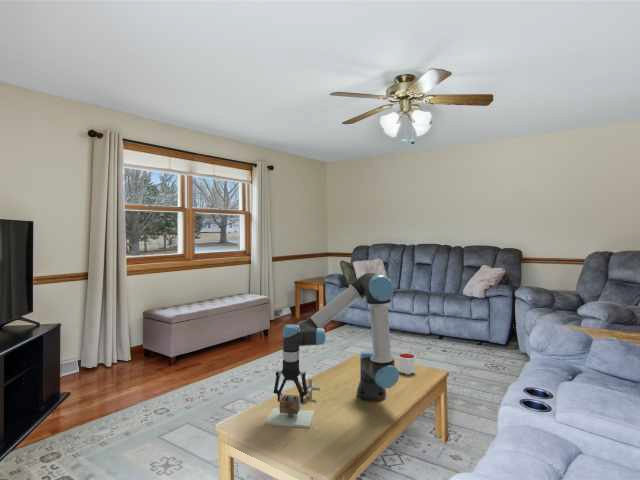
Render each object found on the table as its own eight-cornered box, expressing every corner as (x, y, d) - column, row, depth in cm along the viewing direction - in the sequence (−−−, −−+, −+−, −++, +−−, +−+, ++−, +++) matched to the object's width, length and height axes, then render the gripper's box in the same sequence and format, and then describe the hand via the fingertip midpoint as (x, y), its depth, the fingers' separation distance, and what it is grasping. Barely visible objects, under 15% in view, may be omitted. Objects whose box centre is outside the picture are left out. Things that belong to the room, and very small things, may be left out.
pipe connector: (317, 403, 189) (317, 383, 189) (298, 401, 191) (298, 381, 191) (321, 394, 199) (321, 375, 199) (303, 393, 201) (303, 374, 201)
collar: (300, 406, 176) (300, 395, 176) (297, 414, 168) (297, 403, 168) (283, 405, 177) (284, 394, 177) (279, 413, 169) (279, 401, 169)
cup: (405, 368, 239) (405, 352, 239) (418, 372, 232) (418, 356, 231) (394, 371, 233) (394, 355, 233) (408, 376, 225) (408, 359, 225)
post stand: (314, 413, 178) (315, 391, 178) (309, 428, 165) (309, 405, 164) (273, 409, 181) (273, 389, 181) (265, 424, 167) (265, 401, 167)
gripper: (314, 358, 175) (314, 407, 175) (270, 355, 178) (270, 403, 178) (312, 363, 167) (311, 414, 168) (266, 360, 170) (265, 411, 171)
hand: (290, 409), depth 173 cm, fingers closed on collar, 8 cm apart
